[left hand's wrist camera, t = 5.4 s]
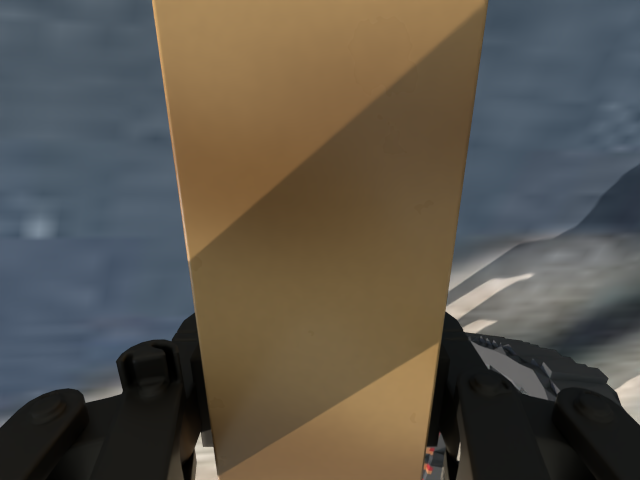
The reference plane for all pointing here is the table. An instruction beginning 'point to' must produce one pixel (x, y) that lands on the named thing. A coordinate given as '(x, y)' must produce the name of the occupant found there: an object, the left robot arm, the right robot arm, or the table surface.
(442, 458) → the toy
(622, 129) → the table surface
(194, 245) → the oak block
